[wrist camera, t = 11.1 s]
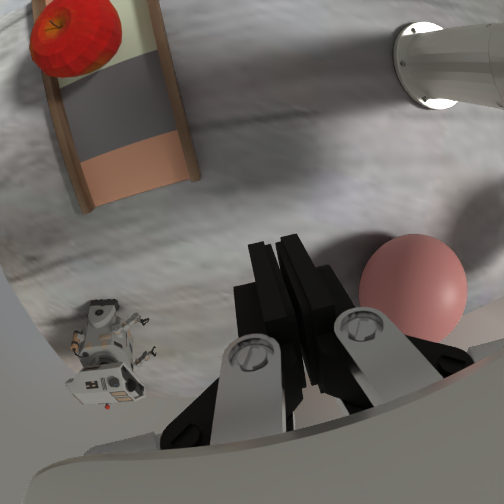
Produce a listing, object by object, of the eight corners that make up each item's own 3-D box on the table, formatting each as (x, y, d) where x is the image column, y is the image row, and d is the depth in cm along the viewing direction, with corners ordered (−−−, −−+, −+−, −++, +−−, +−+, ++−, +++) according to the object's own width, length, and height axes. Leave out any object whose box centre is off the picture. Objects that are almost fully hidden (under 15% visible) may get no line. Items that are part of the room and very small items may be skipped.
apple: (85, 9, 24) (35, -23, 13) (150, 17, 26) (114, -24, 15) (57, 77, 27) (-4, 69, 16) (119, 90, 29) (68, 79, 18)
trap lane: (148, -52, 21) (144, -59, 19) (201, 175, 36) (200, 180, 34) (39, -4, 21) (31, -7, 19) (89, 208, 36) (83, 214, 34)
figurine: (165, 342, 47) (156, 421, 34) (100, 342, 46) (77, 415, 33) (154, 295, 43) (136, 376, 29) (83, 298, 42) (47, 371, 28)
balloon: (345, 335, 50) (379, 406, 37) (339, 229, 41) (392, 295, 27) (422, 309, 50) (466, 367, 37) (431, 207, 41) (499, 255, 27)
